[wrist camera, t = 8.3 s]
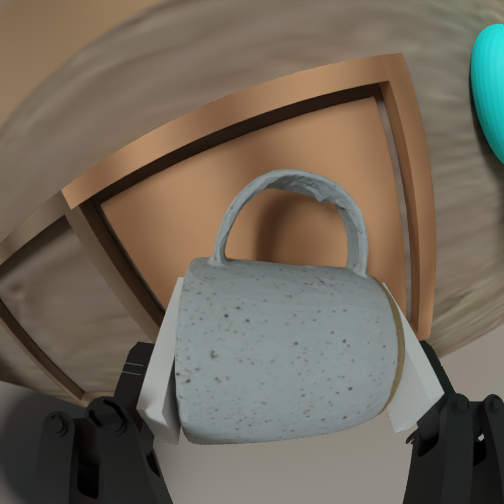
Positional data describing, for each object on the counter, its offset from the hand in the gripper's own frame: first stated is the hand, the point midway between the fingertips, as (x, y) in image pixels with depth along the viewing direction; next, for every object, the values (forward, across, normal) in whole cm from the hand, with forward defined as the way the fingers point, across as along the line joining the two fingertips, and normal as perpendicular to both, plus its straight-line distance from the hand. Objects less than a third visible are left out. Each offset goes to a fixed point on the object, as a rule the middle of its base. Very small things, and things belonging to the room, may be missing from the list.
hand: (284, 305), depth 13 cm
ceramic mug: (+2, 0, +1) cm, 2 cm away
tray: (+3, -8, -3) cm, 9 cm away
